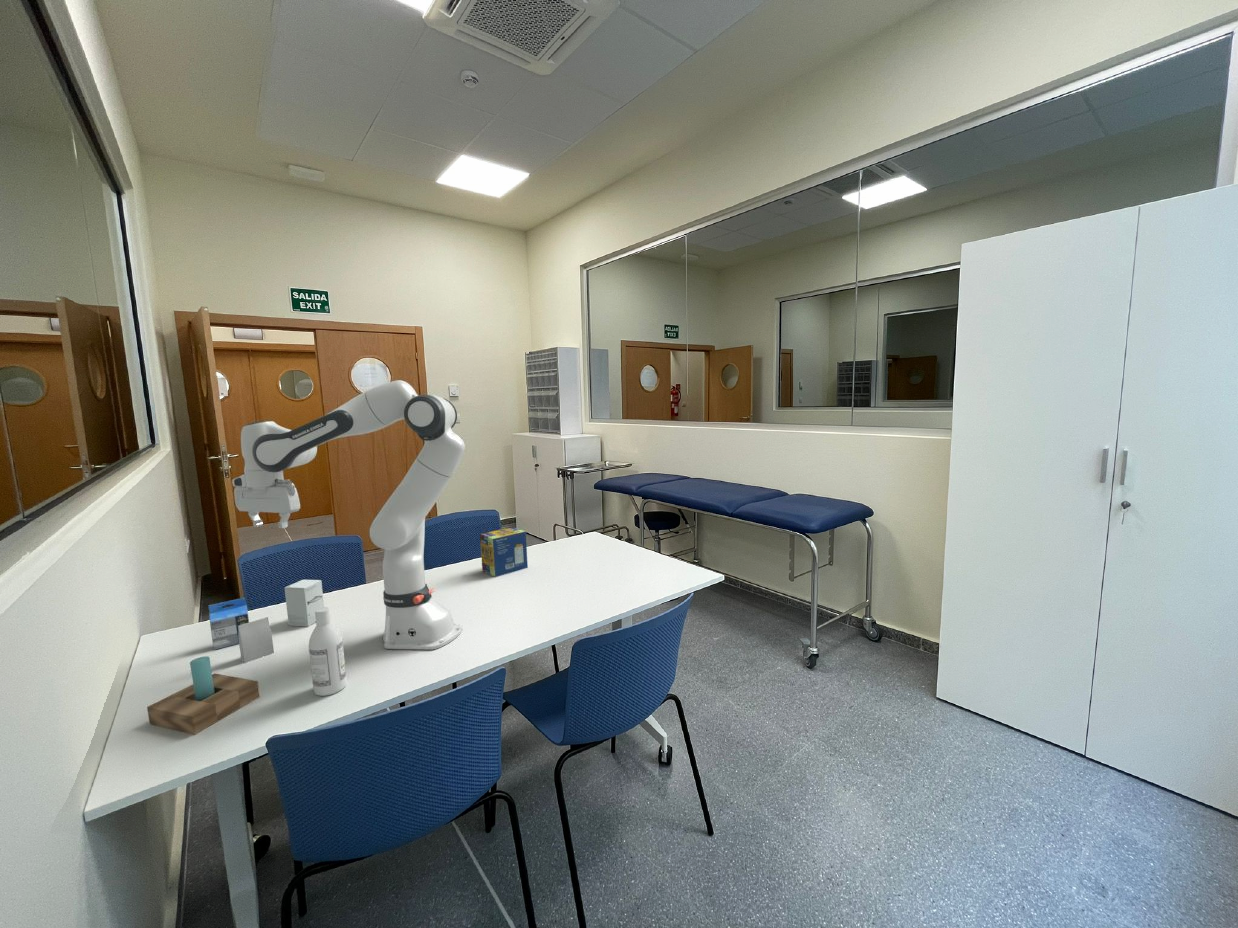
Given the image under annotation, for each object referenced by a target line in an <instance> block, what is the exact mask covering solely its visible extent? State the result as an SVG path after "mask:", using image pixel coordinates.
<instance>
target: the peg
mask: <svg viewBox="0 0 1238 928" xmlns="http://www.w3.org/2000/svg"><path fill="white" fill-rule="evenodd" d="M189 667H190V671H191V679H192V684H193V686H194V693H195V699H196V701H202V700H204V699H206V698H208V697H210V696H212V695H213V694H215V692H214V685H213V678H212V674H213V672H212V665H211V659H210V656H206V655H205V656H200V657H198V658H197V657H196V658H194V659H192V660H191V661H190V662H189Z"/></svg>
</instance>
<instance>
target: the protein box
mask: <svg viewBox="0 0 1238 928" xmlns="http://www.w3.org/2000/svg"><path fill="white" fill-rule="evenodd" d="M479 540H480V542H479V543H480V553H481V554H480V556H481V570H482V572H484V573H486V574H488V575H489V576H492V577H494V578H497V577H500V576H503V575H507V574H510V573H514V572H517V571H521V570H525V569H528V550H527V549H528V548H527V546H528V545H527V544H528V543H527V532H526V530H522V529H520V528H517V527H514V526H510V527H506V528H502V529H498V530H493V531H489V532H484V533H480V534H479Z"/></svg>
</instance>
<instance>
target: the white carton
mask: <svg viewBox="0 0 1238 928" xmlns="http://www.w3.org/2000/svg"><path fill="white" fill-rule="evenodd" d="M238 639H239V643H238V645H239V652H240V659H241V661H242V662H243V663H244V664H247V663H249V662H252V661H255V660H258V659H261V658H263V656H264V657H266V656H270V655H273V654H275V651H274V643H273V633H272V630H271V625H270V622H269V617H267V616H266V617H262V618H260V619H256V620H252V621H249V623H245V624H242V625H239V626H238ZM272 653H273V654H272Z"/></svg>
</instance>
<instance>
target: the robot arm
mask: <svg viewBox="0 0 1238 928" xmlns="http://www.w3.org/2000/svg"><path fill="white" fill-rule="evenodd" d="M401 420H402V421H403V420H405V422H406V424H407V426H408V427H409V428H410V429H411V430H412V431H414V433H415V434H416V435H417V436H418V437H419V439H421V440H422V441H424V445H423V446H422V449H421V450H420V451H419V453H418V455H417V457H416V458H415V459H414V462H413V463H412V464H411V465H410V468H409V469H408V471H407V472H406V474H405V476H404V477H403V479H402V480H401V482H400V483H399V484H398V486H397V487H396V489H395V490H394V491H393V492H392V493H391V495H390V496H389V498H388V499H387V500H386V502H385V503H384V505H383V506H382V508H381V509H380V511H378V514H377V515H376V516H375V517H374V519H373V521H372V523H371V525H370V527H369V538H370V540H371V542H372V543H373V544H374V545H375V546H376V547H377V548H378V549H381V550H384V554H383V561H382V578H383V579H382V580H383V587H384V590H383V592H382V594H383V597H382V598H383V604H384V606H385V622H384V623H385V624H384V631H383V632H384V633H383V636H382V641H383V642H384V644H383V645H384V649H387V650H388V649H389V650H392V649H393V650H427V651H428V650H431V651H432V650H436V649H439V648H442V647H444V646H447V645H448V644H449V643H450V642H453V640H455V639H456V638H457V637H458V636H460V634H461V633H462V631H463V626H462V625H461V624H457V623H455V622H454V617H453V614H452V612H451V611H450V610H449V609H448V608H446V607H445V606H443V604H441V603H440V602H439V601H437V599H434V598H433V596H432V594H433V593H434V592H435V591H434V590H435V588H431V589H429V587H428V585H427V583H426V576H425V563H424V562H425V561H424V560H425V559H424V554H425V553H424V551H425V550H424V549H425V533H426V531H425V530H426V529H425V523H426V517H427V516H428V514H429V513H430V512H431V510H432V509H433V507H434V505H435V504H436V503H437V502H438V500H439V498H440V497H441V495H442V494H443V492H444V490H445V489H446V487H447V485H449V482H450V481H451V480H452V478H453V476H454V475H455V472H456V471H457V469H458V468H459V465H460V463H461V462H462V459H463V456H464V453H465V451H466V445H465V442H464V440H463V439H462V438H461V437H460V436H459V435H458V434H457V433H455V432H454V431H453V430H452V429H453V428H454V427H455V425H456V423H457V421H458V411H457V409H456V407H455V406H454V404H453V403H452V402H451V401H450V400H448V399H446V398H443V397H441V396H439V395H435V394H419V395H418V393H417V392H416V390H415V389H414V387H412V385H411V384H410V383H408V382H407V381H404V380H401V379H398V380H392V381H389V382H386V383H383V384H380V385H377V386H375V387H373V388H370V389H368V390H366V391H364V392H362V393H360V394H358V395H357V396H355V397H353V398H351V399H350V400H348V401H347V402H345V403H343V404H341V405H340V406H338V407H336V408H335V409H333V410H331V411H330V412H329V413H326V414H324V415H322V416H320V417H318V418H317V419H314V420H312V421H309V422H308V423H305V424H303V425H301V426H298V427H296V428H293V429H289V428H286V427H283V426H281V425H279V424H277V423H276V422H275V421H273V420H261V421H255V422H250V423H248V424H245V425H244V426H243V427H242V428H241V433H240V447H241V448H240V449H241V455H242V457H243V459H244V469H243V472H244V474H242V475H239V476H237V477H234V478H233V479H232V480H231V481H232V482H231V483H232V486H233V487H234V490H233V491H234V492H233V496H234V503H235V507H236V508H237V509H238V511H239V512H248V514H247V515H248V516H249V518H250V520H251V521H252V523H253V524H252V526H253V527H254V528H259V527H263V525H264V523H263V522H264V521H263V519H261V517H260V516H259V514H260V513H272V514H274V513H275V514H276V513H278V515H279V517H280V520H279V521H278V522H277V525H278V528H279V529H285V528H288V526H289V522H288V521H289V519H290V516H291V514H292V513H295V512H298V511H299V510H300V509H301V503H300V498H299V493H298V489H297V487H296V486H295V484H294V483H293V482H292V481H291V480H290V479H284V471H285V470H287V469H288V470H289V469H291V468H292V469H293V468H296V467H300V466H303V465H307V464H308V463H310V462H312V461H313V460H314V459H315V458H316V456H317V455H318V446H321V445H323V444H325V443H327V442H329V441H333V440H336V439H339V438H345V437H351V436H353V437H354V436H358V435H359V436H361V435H366V434H369V433H373V432H376V431H380V430H382V429H385V428H387V427H389V426H391V425H393V424H395V423H397V422H399V421H401Z"/></svg>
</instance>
